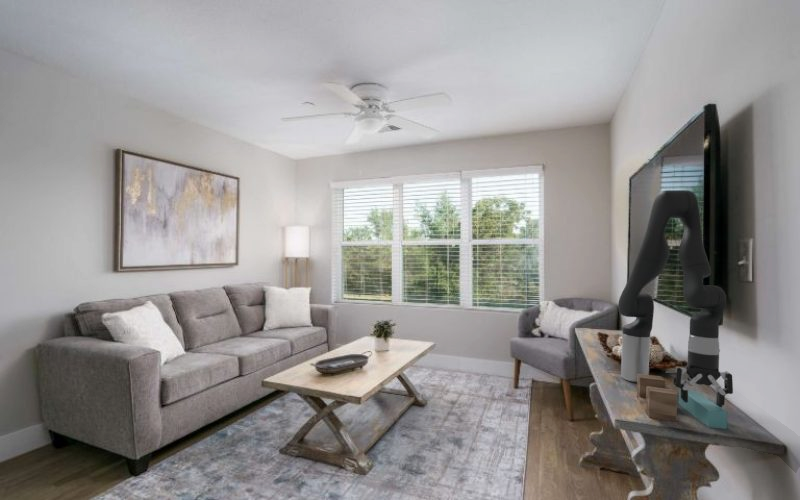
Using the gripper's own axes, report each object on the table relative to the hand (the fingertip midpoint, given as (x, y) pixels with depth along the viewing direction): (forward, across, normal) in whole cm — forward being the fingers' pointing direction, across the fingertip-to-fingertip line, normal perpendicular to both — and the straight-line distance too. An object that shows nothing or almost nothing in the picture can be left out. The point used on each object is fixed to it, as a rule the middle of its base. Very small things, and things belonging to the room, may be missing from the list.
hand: (701, 404), depth 119 cm
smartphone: (+3, -1, -51) cm, 52 cm away
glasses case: (+4, 0, 0) cm, 4 cm away
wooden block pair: (+4, +12, 0) cm, 13 cm away
